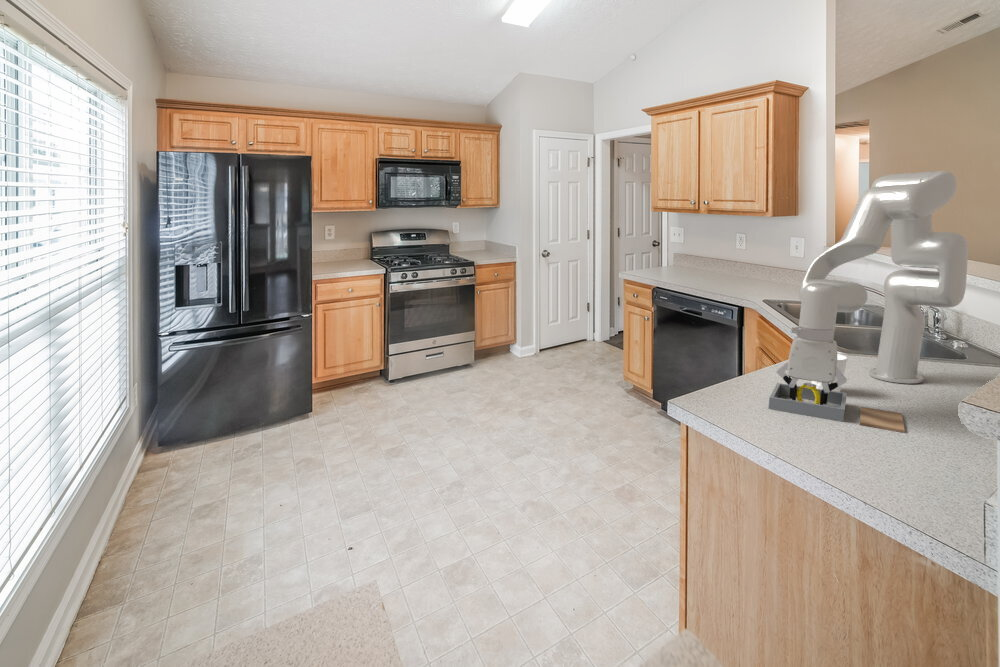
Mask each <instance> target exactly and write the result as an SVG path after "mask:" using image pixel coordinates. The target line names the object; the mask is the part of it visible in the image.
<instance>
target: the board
mask: <svg viewBox="0 0 1000 667" xmlns="http://www.w3.org/2000/svg"><path fill="white" fill-rule="evenodd" d="M859 410H860V411H859V412H860V413H859V415H860V416H859V426H863V427H864V426H865V427H869V428H874V429H875V428H876V429H881V430H887V431H892V432H898V433H905V431H906V430H905V423H904V418H903V413H902V412H897V411H892V410H891V411H890V410H886V409H885V410H884V409H879V408H872V407H866V406H865V407H864V406H860V409H859Z"/></svg>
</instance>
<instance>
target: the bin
mask: <svg viewBox="0 0 1000 667" xmlns="http://www.w3.org/2000/svg"><path fill="white" fill-rule="evenodd" d="M797 386H798V387H797V389H798V388H799V387H800V386H801V385H797ZM817 390H818V391H819V394H820V397H821V391H822V389H817ZM847 394H848V393H847V392H841V391H840V392H836V391H830V392H829V393H828V398H827V404H828V403H830V404H835V405H840V407H839V406H837V407H836V406H833V405H832V406H831V405H826V404H823V405H820V403H819V404H814V403H812V402H807V401H804V402H801V401H798V400H796V401H795V400H792V399H788V398H782V397H779V396H785V397H789V395H790V387H789V385H788V384H787V383H781V382H777V383H776V384H775V386H774V388H773V390H772V392H771V394H770V396H769V400H768V409H769V410H775V411H780V412H785V413H792V414H796V415H802V416H809V417H813V418H814V417H815V418H819V419H820V418H821V419H826V420H832V421H836V422H837V421H838V422H844V417H845V411H846V402H847ZM801 395H802V400H803V399H805V400H809V401H811V400H812V401H815V395H814V392H813V391H812V390H811V389H808V388H805V387H804V388H803V390H802V394H801ZM796 398H797V396H796Z"/></svg>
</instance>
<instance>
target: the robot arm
mask: <svg viewBox="0 0 1000 667" xmlns="http://www.w3.org/2000/svg"><path fill="white" fill-rule="evenodd" d="M956 190H957V180H956V177H955V175H954V174H953V173H952V172H949V171H948V170H936V171H935V170H934V171H921V172H906V173H904V172H903V173H895V174H886V175H882V176H881V177H878V178H875V179H874V181H873V182H872V184H871V187H870V188H868V189H866V190H864V191H863V192H862V194H861V195H860V197H859V198H858V201H857V203H856V206H855V207H854V210H853V211H852V212H853V213H852V214H851V217H850V219H849V221H848V224H847V225H846V228H845V230H844V232H843V235H842V236H841V239H840V240H839V241H838V242H836V243H835V244H833V245H831V246H830V247H828V248H827V249H826V250H825V251H823V252H821V253H820V254H819V256H817V257H816V258H815V259H813V261H812V263H811V264H810V265H809V267H808V268H807V270H806V273H805V276H804V277H803V280H802V282H801V284H800V289H799V295H798V297H799V301H800V302H801V303H800V312H799V321H798V326H796V327H791V334H792V333H793V334H795V335H797V336H795V337H793V339H792V343H791V346H790V349H789V355H788V360H787V362H786V363H784V364H783V365H782V366H780V368H778V369H777V370H776V374H777V375H779V376H780V378H782V380H783V381H784V382H785V384H788V385H789V387H790V395H789V396H788V398H789V400H795V401H797V397H796V395H797V387H798V386H799V385H797V383H798V381H799V380H803V381H804V380H805V381H810V382H812V381H817V382H821V383H822V386H823V390H822V391H821V397H820V403H819V404H820V405H826V406H828V405H827V404H828V402H827V398H828V393H829V392H830V391H832V390H833V389H835V388H837V387H838V386H840V385H841V386H842V385H844V384H846V383H847V382H848V379H847V377H845V374H844V375H843V374H842V373H841V372H840V370H839V369H838V368H837V354H838V343H837V341H836V340H834V338H835V329H836V322H837V315H838V313H847V314H848V313H854V312H858V311H860V310H861V309H862V308H863V307H864V305H865V304H866V303H867V300H868V292H867V289H866V288H865V286H863V285H862V284H861V283H857V282H855V281H848V280H847V281H844V280H836V279H826V278H827V277H828V275H829V274H830V273H831V272H832V271H833V270H834V269H836V268H838V267H839V266H842V265H844V264H846V263H851V262H853V261H855V260H860V259H861V258H866V257H868V256H870V255H874V254H875V253H877V252H878V251H879V250H880V249H881V247H882V245H883V243H884V240H885V238H886V235H887V233H888V231H889V229H890V228H891V229H890V255H891V256H890V257H891V260H892V262H893V263H894V265H896V266H900V267H905V268H919V269H920V270H919V269H899V270H895V271H892V272H891V273H889V274H888V275H887V276H886V278H885V279H884V284H883V294H884V308H883V309H884V311H883V312H884V313H883V317H882V318H883V319H882V326H881V332H880V339H879V346H878V351H877V352H878V353H877V357H876V359H877V361H876V366H875V367H873V368H871V369H869V370H868V375H869V376H871V377H872V378H875V379H877V380H881V381H885V382H890V383H896V384H914V385H915V384H919V383H922V382H923V381H924V377H923V375H921V374H920V373H918V369H919V363H920V357H921V350H922V346H923V339H924V338H923V337H924V333H925V328H926V316H925V315H924V312H923V311H922V309H921V308H920V306H926V307H927V306H928V307H936V308H946V309H947V308H948V309H949V308H954V307H956V306H958V305H960V304H961V303H962V301H963V299H964V296H965V293H966V288H967V274H968V273H967V272H968V271H967V270H968V259H969V257H968V256H969V248H968V247H969V246H968V241H967V239H966V238H965V236H964V235H963V234H960V233H957V232H950V231H949V232H948V231H945V232H944V231H941V232H939V231H937V232H936V231H933V229H932V228H933V227H932V218H933V216H932V214H934V213H935V212H936V211H938V210H939V209H941V208H942V207H944V206H946V205H947V204H948V203H949V202H950V201H951V200H952V199H953V196H954V195H955V194H956ZM922 268H923V269H935V270H937V271H935V270H934V271H933V270H923V269H922ZM921 269H922V270H921ZM835 375H836V377H837V378H838V380H837V381H834V379H835ZM833 381H834V382H833ZM829 382H832V383H831V384H829Z"/></svg>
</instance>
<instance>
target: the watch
mask: <svg viewBox="0 0 1000 667" xmlns="http://www.w3.org/2000/svg"><path fill="white" fill-rule="evenodd" d="M799 386H800V387H799V388H798V389H797V395H796V396H797V397H796V401H801V402H805V401H804V400H803V398H802V395H801V394H802V390H803V388H804V387H805V388H808V389H811V390H812V391H813V392H814V395H815V400H814V403H813V404H820V394H819V391H818V390H817V389H816V385H815V384H812V382H804V383H803V384H802V385H799Z"/></svg>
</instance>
